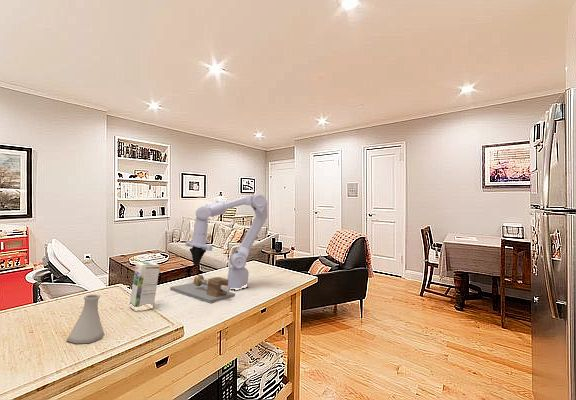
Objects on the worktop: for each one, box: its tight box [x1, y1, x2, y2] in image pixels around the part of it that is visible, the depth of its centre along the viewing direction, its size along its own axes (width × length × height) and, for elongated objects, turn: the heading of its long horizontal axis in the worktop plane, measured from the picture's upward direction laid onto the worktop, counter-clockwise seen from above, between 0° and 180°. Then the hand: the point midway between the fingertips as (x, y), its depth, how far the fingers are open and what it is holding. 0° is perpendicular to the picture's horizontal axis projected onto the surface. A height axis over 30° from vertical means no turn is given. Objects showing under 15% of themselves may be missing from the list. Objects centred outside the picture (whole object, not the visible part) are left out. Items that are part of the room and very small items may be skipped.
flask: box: [66, 293, 105, 344], centre depth 69 cm, size 7×7×10 cm
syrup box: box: [129, 260, 161, 307], centre depth 92 cm, size 6×6×14 cm
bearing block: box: [207, 276, 229, 297], centre depth 112 cm, size 6×5×6 cm
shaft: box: [193, 274, 231, 292], centre depth 114 cm, size 4×17×4 cm, turn 61°
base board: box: [169, 282, 236, 304], centre depth 116 cm, size 14×22×1 cm, turn 61°
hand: (196, 264), depth 125 cm, fingers closed
